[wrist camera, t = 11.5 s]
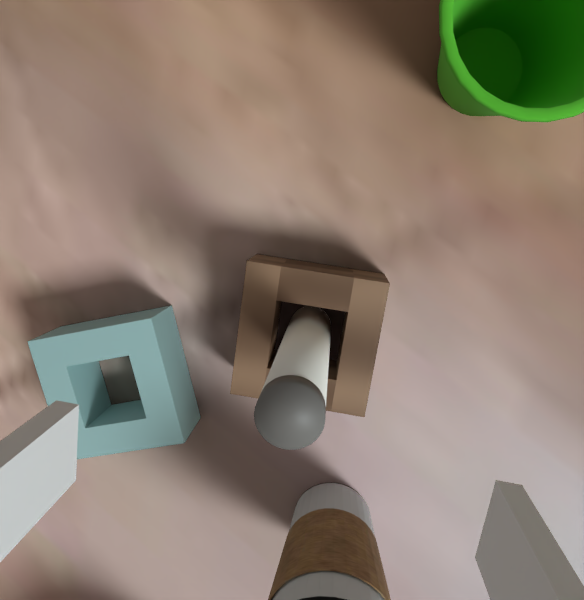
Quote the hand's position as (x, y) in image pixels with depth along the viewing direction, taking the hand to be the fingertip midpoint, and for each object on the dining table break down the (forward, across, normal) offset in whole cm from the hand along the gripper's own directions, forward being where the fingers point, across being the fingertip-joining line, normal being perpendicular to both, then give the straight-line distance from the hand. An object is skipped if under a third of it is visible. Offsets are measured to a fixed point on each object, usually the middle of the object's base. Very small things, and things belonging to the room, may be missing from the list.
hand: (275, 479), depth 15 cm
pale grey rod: (+20, 0, -1) cm, 20 cm away
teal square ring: (+20, -13, -7) cm, 25 cm away
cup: (+21, +8, +17) cm, 28 cm away
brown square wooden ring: (+20, 0, -1) cm, 20 cm away
